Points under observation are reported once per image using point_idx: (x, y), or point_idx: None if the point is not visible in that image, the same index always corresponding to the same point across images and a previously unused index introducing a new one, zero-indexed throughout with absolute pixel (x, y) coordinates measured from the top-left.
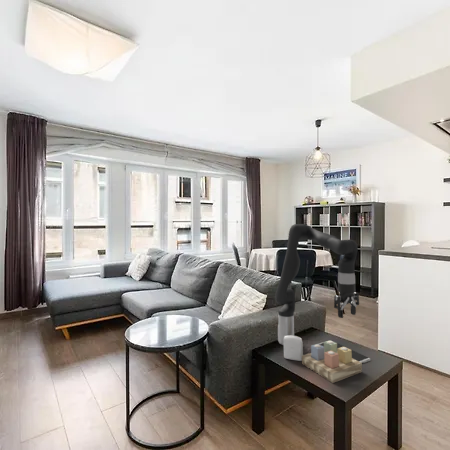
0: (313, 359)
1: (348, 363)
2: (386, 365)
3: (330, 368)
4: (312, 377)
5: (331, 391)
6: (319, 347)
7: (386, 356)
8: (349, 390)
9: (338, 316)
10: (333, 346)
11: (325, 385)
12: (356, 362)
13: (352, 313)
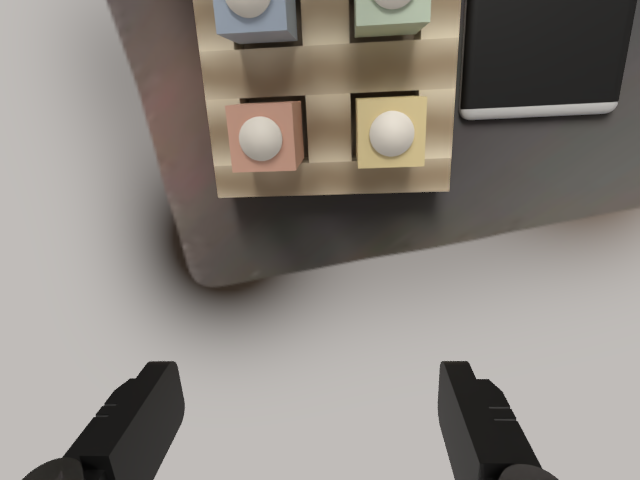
0: None
1: None
2: (615, 193)
3: None
4: (174, 103)
5: (185, 229)
6: (246, 18)
7: None
8: (259, 257)
9: (149, 363)
10: (387, 26)
11: (190, 185)
12: (427, 174)
13: (441, 395)
